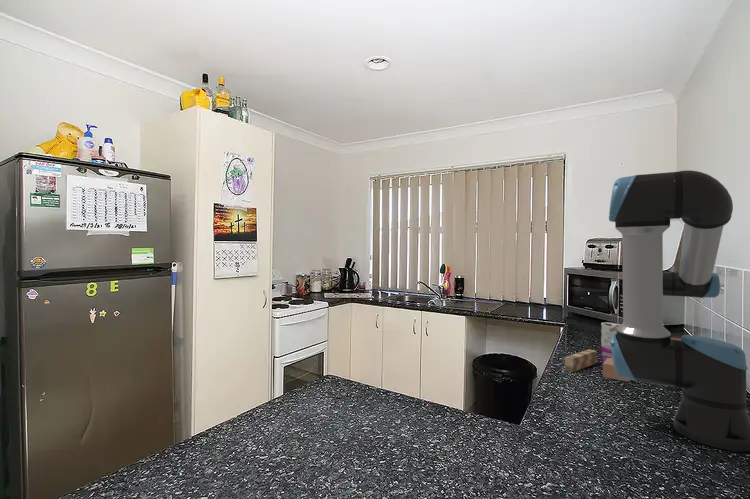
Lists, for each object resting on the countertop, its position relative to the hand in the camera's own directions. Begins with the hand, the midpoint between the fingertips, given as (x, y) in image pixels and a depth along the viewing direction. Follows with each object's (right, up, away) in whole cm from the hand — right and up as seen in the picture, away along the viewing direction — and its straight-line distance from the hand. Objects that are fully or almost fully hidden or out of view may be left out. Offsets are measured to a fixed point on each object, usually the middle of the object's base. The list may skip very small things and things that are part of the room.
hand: (643, 376), depth 129 cm
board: (-12, -2, +17) cm, 21 cm away
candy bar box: (+3, -2, +18) cm, 18 cm away
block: (-5, -2, +6) cm, 8 cm away
